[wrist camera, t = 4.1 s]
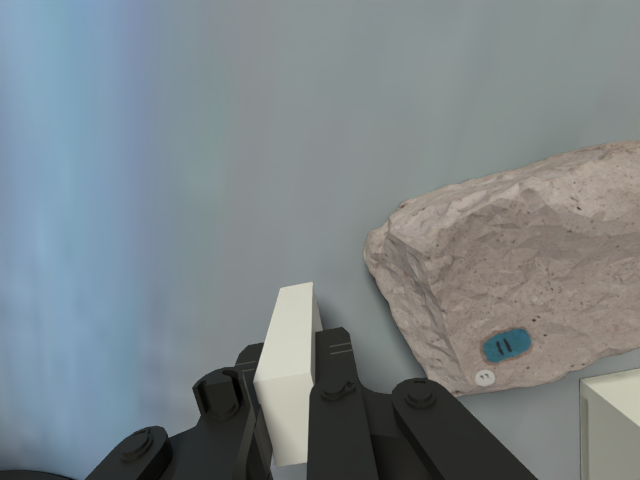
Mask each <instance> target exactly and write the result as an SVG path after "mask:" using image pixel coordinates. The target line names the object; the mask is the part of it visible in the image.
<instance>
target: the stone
mask: <svg viewBox="0 0 640 480" xmlns="http://www.w3.org/2000/svg"><path fill="white" fill-rule="evenodd" d="M363 257H364V261H365V264H366V266H367V268H368V270H369V271H370V273H371V275H372V276H374V277H375V279H376V284H377V286H378V288H379V290H380V292H381V293H382V294H383V296H384V297H385V298H386V299H387V301H388V303H389V305H390V310H391V313H392V316H393V318H394V320H395V322H396V324H397V326H398V328H399V330H400V332H401V333H402V335H403V336H404V338H405V339H406V341H407V343H408V344H409V346H410V348H411V350H412V353H413V355H414V356H415V358H416V359H417V361H418V362H419V363H420V364H421V365H422V367H423V369H424V371H425V373H426V375H427V377H428V379H430V380H433V381H436V382H438V383H439V384H441V385H442V386H444V387H445V388H446V389H447V390H448V391H449V392H450V393H451V394H452V395H453V396H454V397H458V396H462V395H475V394H480V393H491V392H497V391H503V390H509V389H513V388H518V387H531V386H536V385H541V384H546V383H550V382H554V381H557V380H559V379H561V378H563V377H564V376H565V375H566V374H567V372H569V371H576V370H582V369H583V368H585V367H587V366H589V365H591V364H593V363H594V362H596V361H597V360H599V359H600V358H604V357H607V356H613V355H620V354H623V353H626V352H629V351H632V350H635V349H638V348H640V140H631V141H619V142H609V143H605V144H600V145H596V146H590V147H584V148H581V149H578V150H575V151H571V152H566V153H561V154H557V155H553V156H550V157H548V158H546V159H543V160H541V161H538V162H535V163H532V164H529V165H527V166H525V167H521V168H518V169H515V170H507V171H504V172H500V173H496V174H492V175H489V176H485V177H482V178H479V179H471V180H467V181H465V182H463V183H461V184H452V185H448V186H445V187H442V188H439V189H436V190H434V191H432V192H429V193H425V194H423V195H421V196H419V197H416V198H414V199H410V200H406V201H404V202H402V203H400V206H399V208H398V209H397V211H396V212H395V213H393V214H392V215H391V216H390V217H389V219H388V220H387V221H386V222H385V223H384V225H383V226H382V227H380V228H378V229H374V230H371V231H369V233H368V236H367V239H366V241H365V246H364V252H363Z"/></svg>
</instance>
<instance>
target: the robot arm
mask: <svg viewBox="0 0 640 480" xmlns="http://www.w3.org/2000/svg"><path fill="white" fill-rule="evenodd" d="M192 389H193V392H194V395H195V398H196V401H197V405H198V408H199V411H200V414H201V416H200V419H199V421H198V423H197V425H196V426H195V427H193V428H191V429H189V430H187V431H184V432H182V433H179V434H177V435H175V436H172V437H170V438H169V437H168V435H167V432H166V431H165V429H164V428H163V427H160V426H152V427H146V428H144V429H141V430H139V431H136V432H134V433H133V434H131V435H130V436H128V437H127V438H125V439H124V440H123V441H122V442H121V443H119V444H118V445H117V446H116V447H115V448H114V449H113V450H112V451H111V452H110V453H109V454H108V455H107V456H106V457H105V459H104V460H103V461H102V462H101V463H100V464H99V465H98V466H97V467H96V468H95V469H94V470H93V471H92V472H91V473H90V474H89V475H88V477H87V478H86V479H85V480H273V477H272V473H271V470H270V464H271V457H272V453H273V457H274V460H275V464H276V467H282V466H288V465H294V464H300V463H305V462H307V480H538V479H537V478H536V477H535V476H534V475H533V474H532V473H531V472H530V471H529V470H528V469H527V468H526V467H525V466H524V465H523V464H522V463H521V462H520V461H519V460H518V459H517V458H516V457H515V456H514V455H513V454H512V453H511V452H510V451H509V450H508V449H507V448H506V447H505V446H504V445H503V444H502V443H501V442H500V441H499V440H498V439H497V438H496V437H495V436H494V435H492V434H491V433H490V432H489V431H488V430H487V429H486V428H485V427H484V426H483V425H482V424H481V423H480V422H479V421H478V420H477V419H476V418H475V417H474V416H473V415H472V414H471V413H470V412H469V411H468V410H467V409H466V408H465V407H464V406H463V405H462V404H461V403H460V402H459V401H458V400H457V399H456V398H455V397H454V396H453V395H452V394H451V393H450V392H449V391H448V390H447V389H446V388H445V387H444V386H442V385H441V384H439V383H438V382H436V381H433V380H430V379H427V378H413V379H408V380H405V381H403V382H401V383H399V384H398V385H397V386H396V387H395V388H394V390H393V391H392V394H383V393H377V392H373V391H371V390H368V389H367V388H365V387H364V386H363V385H362V384H361V383H360V381H359V379H358V375H357V370H356V365H355V360H354V355H353V350H352V345H351V340H350V335H349V333H348V332H347V331H346V330H345V329H344V328H343V327H340V328H334V329H329V330H323V329H322V324H321V319H320V314H319V310H318V305H317V300H316V295H315V291H314V286H313V282H310V283H305V284H299V285H294V286H289V287H283V288H280V292H279V295H278V298H277V302H276V305H275V309H274V312H273V316H272V319H271V322H270V326H269V329H268V333H267V336H266V339H265V342H264V343H258V344H253V345H248V346H247V347H246V348H245V349H244V350H243V351H242V352H241V353H240V354H239V356H238V359H237V361H236V366H234V367H224V368H221V369H218V370H215V371H213V372H211V373H209V374H207V375H205V376H204V377H202V378H201V379H200V380H198V381H197V383H196V384H195V385H194V386H193V388H192ZM0 480H69V479H66V478H63V477H59V476H56V475H51V474H47V473H41V472H33V471H18V470H12V471H0Z"/></svg>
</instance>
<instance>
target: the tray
mask: <svg viewBox="0 0 640 480" xmlns="http://www.w3.org/2000/svg"><path fill="white" fill-rule="evenodd" d="M580 430H581V480H640V369H634V370H629V371H623V372H618V373H612V374H607V375H601V376H595V377H590V378H584V379H580Z"/></svg>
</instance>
